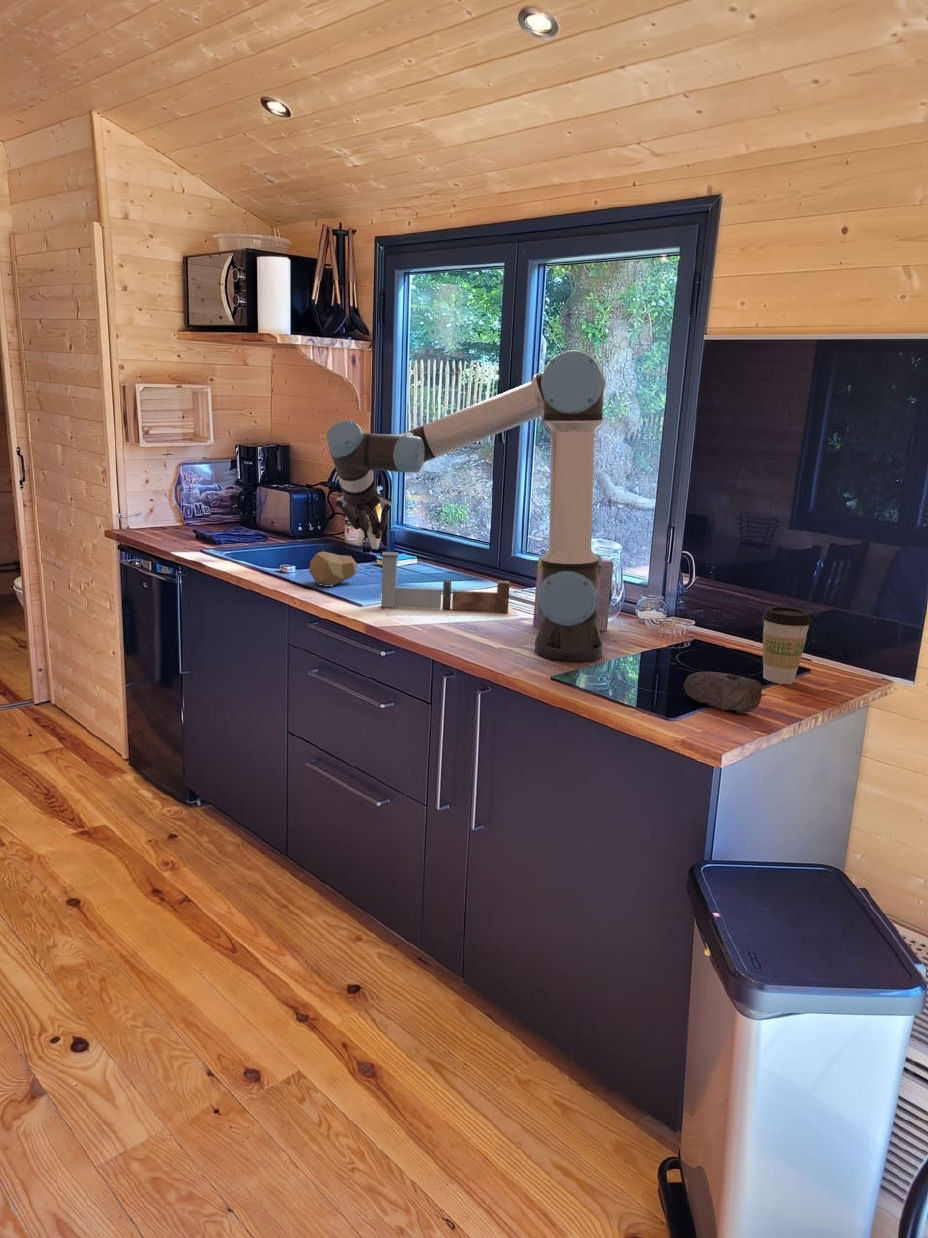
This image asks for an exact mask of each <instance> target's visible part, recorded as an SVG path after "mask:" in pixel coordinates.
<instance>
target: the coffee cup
mask: <svg viewBox="0 0 928 1238" xmlns="http://www.w3.org/2000/svg"><path fill="white" fill-rule="evenodd" d="M810 614H811V613H810V612H809V611H808V610H805V609H801V608H798V607H792V606H777V605H774V606H768V607H767V608H766V609H765V611H764V613H763V614H762V616H761V618H762V620H763V630H762V663H763V666H762V667H763V672H762V673H763V674H762V675H763V676H762V677H763V678H764V679H766V680H768V681H771V682H774V683H779V684H778V685H782V684H789V685H793V684H794V683H795V679H796V676H797V672H798V668H799V667H800V662H801V659H802V657H803V652H804V649H805V644H806V643H807V637H808V636H807V633H808V631H809V626H810V625H812V623H813V621H812V618H811V616H810ZM764 679H763V680H764ZM768 681H767V682H768ZM771 682H770V683H771ZM774 683H773V684H774ZM792 683H793V684H792Z"/></svg>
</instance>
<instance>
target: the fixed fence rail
mask: <svg viewBox="0 0 928 1238" xmlns="http://www.w3.org/2000/svg"><path fill="white" fill-rule="evenodd" d="M510 583H511V582H510V580H497V585H496V586H497V588H496V592H495V591H494V592H493V591H490V592H489V591H474V590H473V591H467V590H452V581H451V580H443V588H442V594H443V607H442V610H450V600H451V594H453V598H452V610H461V611H483V612H496V613H503V614H508V604H509V602H510V601H509V600H510V587H511V586H510Z"/></svg>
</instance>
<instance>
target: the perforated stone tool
mask: <svg viewBox="0 0 928 1238" xmlns="http://www.w3.org/2000/svg"><path fill="white" fill-rule="evenodd" d="M685 679H686V680H685V681H684V683H683V688H684V691H685V693H686V695H688V697H690V698H691V699H693V700H694V701H696V702H698V703H702V704H707V705H708V707H710V708H714V709H718V710H721V711H734V712H735V713H737V714H745V713H751V712H753V711H754V710H755V709H757V708H758V707H759V705H760V703H761V700H762V697H763V695H762V691H763V685H762V684H761V683H760V682H759V681H758V680H755V679H752V678H747V677H744V676H740V675H736V674H733V673H732V674H731V673H725V672H718V671H717V672H716V671H699V672H694V673H692V674H691V673H690V674H689V675H688V676H687V678H685Z"/></svg>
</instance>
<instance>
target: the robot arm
mask: <svg viewBox="0 0 928 1238" xmlns="http://www.w3.org/2000/svg"><path fill="white" fill-rule="evenodd" d="M605 386H606V375H605V372H604V368H603V367H602V365H601V364H600V361H598V359H597V358H596V357H595V356H593V354H590V353H589V352H587V351H585V350H581V349H580V350H579V349H571V350H564V351H561V352H560V353H558V354H556V355H554V356H553V357H552V358H551V359H550V360H549V361H548V363H547V364H546V366H545V368H544V370H543V371H540V372H538V373H535V374H534V375H533V377H532V380H531V381H530V382H527V383H524V384H522V385H519V386H516V387H515V388H512V389H509V390H506V391H505V392H503V393H500V394H497V395H495V396H492V397H490V398H488V399H485V400H482V401H480V402H478V403H475V404H472V405H471V406H467V407H466V408H462V409H459V410H458V411H454V412H453V413H451V414H447V415H446V416H443V417H441V418H438V419H435V420H433V421H430V422H429V423H426V424H423V425H421V426H418V427H415V428H413V429H411V430H409V431H406V432H403V433H396V434H392V433H391V434H388V433H387V434H386V433H382V434H381V433H371V432H364V431H363V430H362V429H361V427H360V425H359V424H358V423H356V422H354V421H353V420H340V421H338V422H336V423H334V424H332V426H331V427H330V428H329V430H328V431H327V433H326V443H327V446H328V453H329V455H330V456H331V460H332V462H333V464H334V468H335V471H336V476H337V479H338V482H339V485H340V488H341V491H342V494H343V495H342V494H338V495H337V497H336V500H335V506H336V507H338V509H339V510H341V511H342V512H343V514H344V515H345V517H346V519H347V520H348V522H349V523H350V524H351V525H352V528H353V529H354V530H359V529H360V530H362V532H363V535H364V538H365V539H369V543H370V547H371V550H379V547H380V544H381V537H382V534H383V532H385V530H386V526H387V523H388V516H389V515H388V513H389V511H390V509H391V505H392V502H393V499H391V498H389V497H387V498H386V499H384V498H383V497H382V496H381V494H380V492H379V491H378V487H377V483H376V479H375V476H374V472H373V471H384V472H398V473H403V474H406V473H419V472H420V471H421V470H422V468H423V466H424V464H425V463H426V462H429V461H432V460H434V459H437V458H438V457H442V456H444V455H446V454H449V453H452V452H454V451H457V450H459V449H461V448H465V447H467V446H470V445H472V444H475V443H477V442H480V441H482V440H485V439H487V438H489V437H490V438H491V437H492V436H495V435H497V434H500V433H502V432H503V433H504V432H505V431H507V430H510V429H513V428H516V427H517V426H520V425H523V424H526V423H529V422H531V421H534V420H535V419H536V420H537V419H539V418H542V417H543V423H544V424H545V425H546V426H547V427H548V429H549V430H550V467H549V468H550V470H549V471H550V472H549V473H550V474H549V476H550V481H549V483H550V484H549V529H548V530H549V537H548V538H549V539H548V541H549V543H548V550H547V551H546V552H545V553H544V554H543V555H542V556H541V557H542V565H541V587H540V590H539V593H538V599H539V604H540V607H541V609H542V611H543V613H544V614H545V618H544V620H543V623H542V625H541V628H540V629H539V631H538V632H537V635H536V638H535V642H534V652H535V653H536V654H538V655H539V656H542V657H544V658H548V659H551V660H557V661H562V662H563V661H564V662H578V663H579V662H590V661H591V662H592V661H595V660H598V659H600V658H601V657H603V656H602V655H603V648H604V647H603V641H602V637H601V633H600V632H601V631H599V628H598V624H597V613H598V602H599V590H600V578H601V569H602V560H603V558H602V556H601V555H600V554H598V553H595V552H594V551H593V550H592V539H593V538H592V533H593V528H592V527H593V504H594V503H593V502H594V501H593V497H594V495H593V494H594V493H593V492H594V467H595V466H594V462H595V458H594V457H595V431H596V429H597V428H598V427H599V426H600V425H601V424H602V423H603V416H604V415H603V413H604V391H605ZM378 505H379V506H380V509H381V513H380V519H379V515H378V512H377V508H376V507H378Z"/></svg>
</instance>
